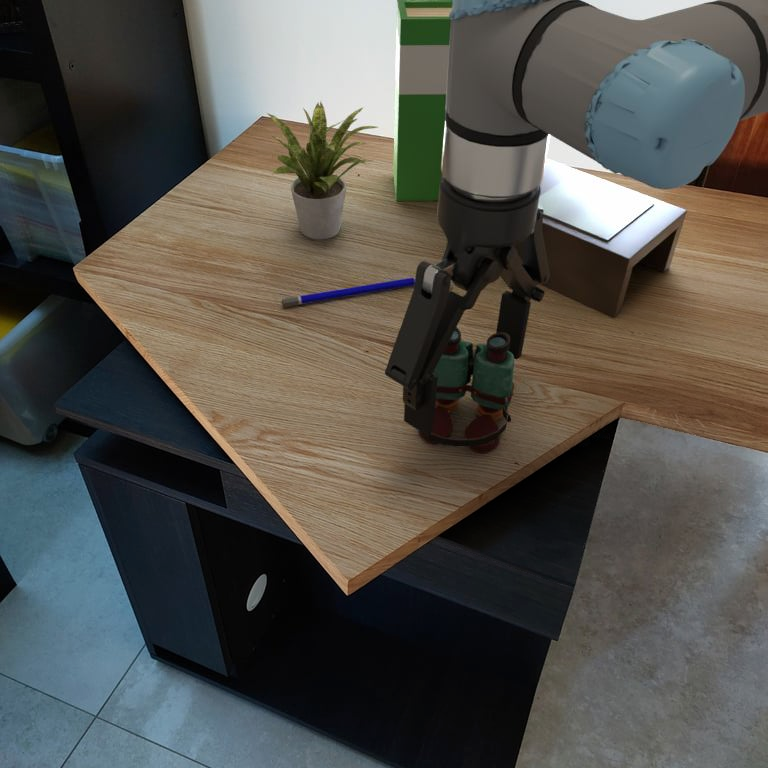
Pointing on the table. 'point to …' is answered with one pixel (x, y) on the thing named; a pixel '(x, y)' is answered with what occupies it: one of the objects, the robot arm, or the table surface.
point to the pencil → (348, 292)
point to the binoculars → (473, 390)
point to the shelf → (602, 235)
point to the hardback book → (420, 97)
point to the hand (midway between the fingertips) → (465, 387)
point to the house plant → (318, 173)
